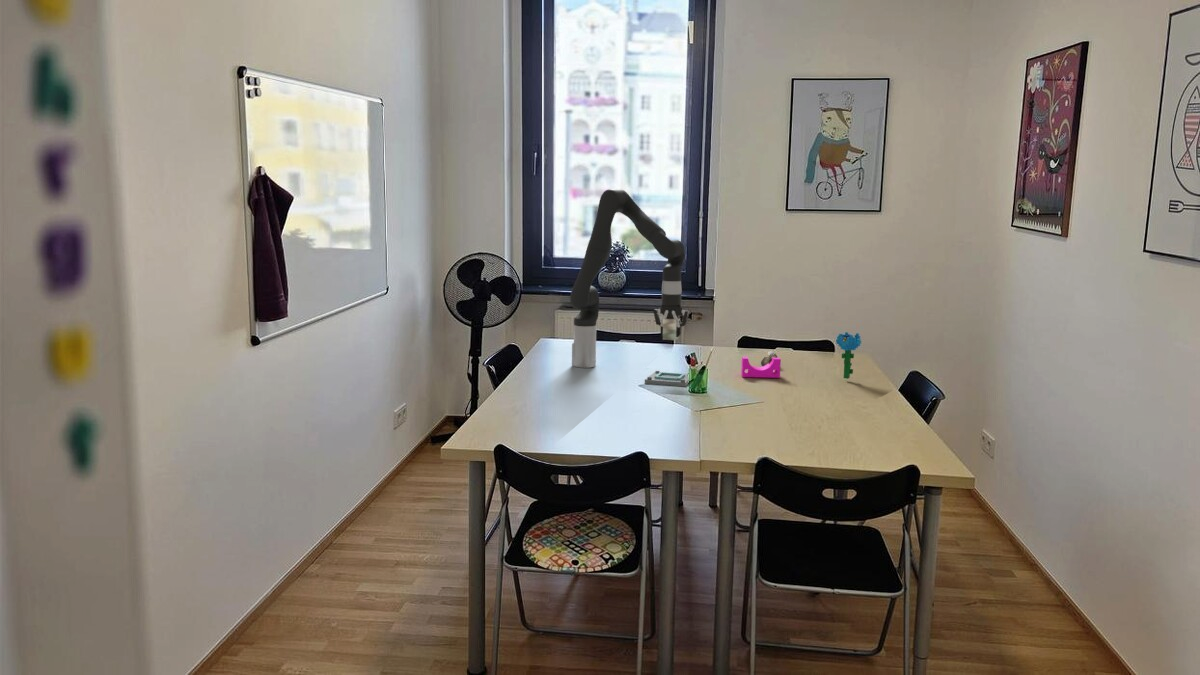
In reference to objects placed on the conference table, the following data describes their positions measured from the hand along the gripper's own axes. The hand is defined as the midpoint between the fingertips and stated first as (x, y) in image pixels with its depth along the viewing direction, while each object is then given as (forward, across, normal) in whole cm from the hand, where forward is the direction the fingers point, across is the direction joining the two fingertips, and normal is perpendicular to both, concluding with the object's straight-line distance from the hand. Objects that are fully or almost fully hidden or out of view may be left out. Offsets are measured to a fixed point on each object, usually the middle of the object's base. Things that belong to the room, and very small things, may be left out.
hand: (670, 336), depth 347 cm
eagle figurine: (+15, +34, +50) cm, 62 cm away
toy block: (+18, +32, +25) cm, 44 cm away
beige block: (+1, 0, 0) cm, 1 cm away
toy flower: (+18, +65, +32) cm, 75 cm away
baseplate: (+18, 0, 0) cm, 18 cm away
